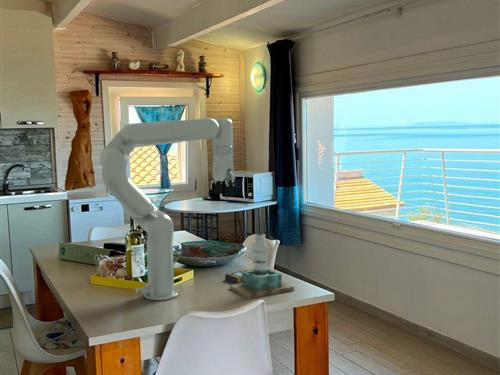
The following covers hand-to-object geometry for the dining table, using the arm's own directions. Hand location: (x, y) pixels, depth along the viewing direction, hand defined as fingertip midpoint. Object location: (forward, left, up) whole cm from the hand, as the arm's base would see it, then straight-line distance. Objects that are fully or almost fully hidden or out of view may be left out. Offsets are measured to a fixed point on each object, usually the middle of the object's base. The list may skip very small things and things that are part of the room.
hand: (224, 195), depth 213 cm
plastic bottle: (+10, -10, -35) cm, 38 cm away
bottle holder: (+10, -11, -36) cm, 39 cm away
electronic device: (+12, +6, -37) cm, 39 cm away
